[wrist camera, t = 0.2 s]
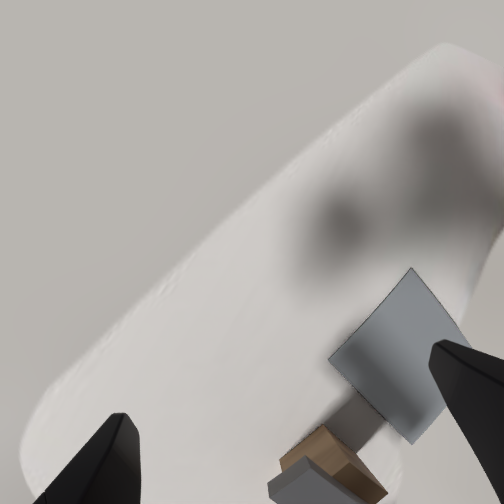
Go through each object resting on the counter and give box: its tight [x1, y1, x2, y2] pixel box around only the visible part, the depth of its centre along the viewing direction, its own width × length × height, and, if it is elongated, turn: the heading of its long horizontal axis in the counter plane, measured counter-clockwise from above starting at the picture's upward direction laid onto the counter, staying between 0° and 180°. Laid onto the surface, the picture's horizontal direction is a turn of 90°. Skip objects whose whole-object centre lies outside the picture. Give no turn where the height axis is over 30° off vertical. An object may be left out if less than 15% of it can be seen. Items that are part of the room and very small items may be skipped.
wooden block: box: [279, 424, 388, 504], centre depth 17 cm, size 4×4×7 cm
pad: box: [328, 268, 472, 445], centre depth 21 cm, size 12×10×1 cm
